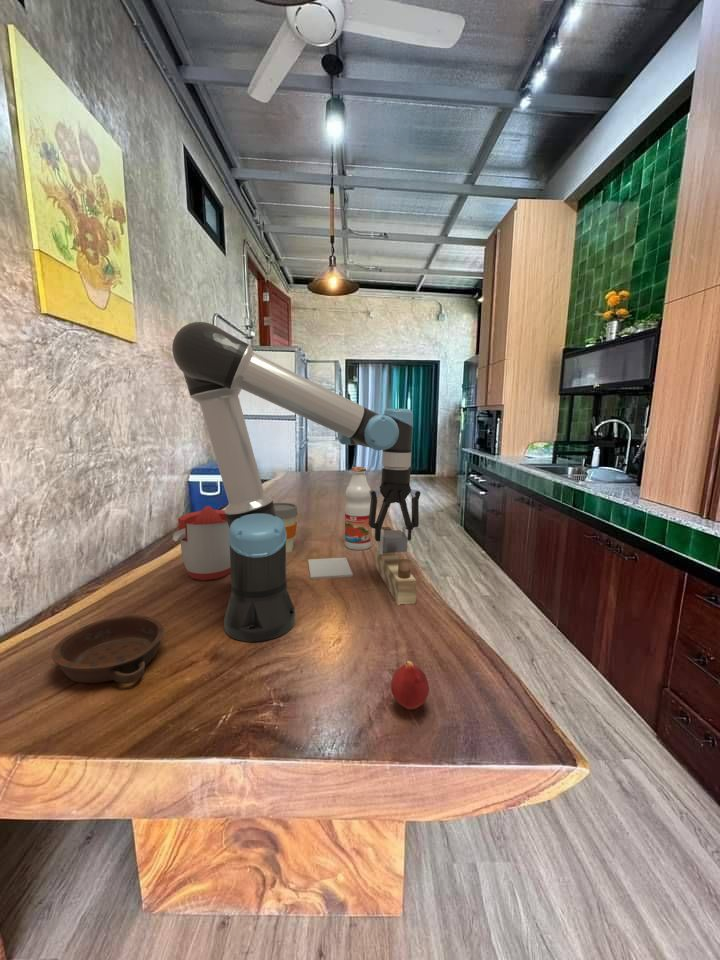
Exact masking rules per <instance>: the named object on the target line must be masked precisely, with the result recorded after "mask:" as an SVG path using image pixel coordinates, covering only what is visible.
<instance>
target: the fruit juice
mask: <svg viewBox="0 0 720 960" xmlns="http://www.w3.org/2000/svg"><path fill="white" fill-rule="evenodd" d="M366 472H367V468H366V467H363V466H354V467H353V466H352V468H351V473H352V476H351V478H350V481H349V484H348V485H347V486H346V489H345V492H344V493H345V499H346V502H345V507H344V545H345V548H347V549H350V550H352V551H364V550H367V549H370V548H371V546H372V533H373V532H372V531H373V530H372V529H373V528H371V527H370V526H369V524H368V523H369V513H370V504H371V496H370V490H372V488H371V486H370V485H369V482H368V480H367V479H368V478H367V476H366Z"/></svg>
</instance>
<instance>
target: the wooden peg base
mask: <svg viewBox="0 0 720 960" xmlns="http://www.w3.org/2000/svg"><path fill="white" fill-rule="evenodd" d="M381 528H382V529H383V530H393V529H392V528H391V527H390V526H382V527H381ZM374 555H375V561H374V562H375V564H374V565H375V569H376V570H377V571H378V572H377V573H379V575H380V577H381V578H382V580H383V582H384V584H385V586H386V585H387V586H386V588H387V589H388V591H389V593H390V592H391V593H390V594H391V596H392V598H393V600H394V601H395V603H396V604H397V606H401V605H400V604H405V605H415V603H417V600H416V599H417V583H418V582H417V581H418V580H417V579H416V578H415V576H414V575H413V574H412V573H411V560H410V559H407V558H400V557H399V556H398V555H397V552H393V553H385V552H384V551H383V554H380V553H379V552H378V546H375V554H374Z"/></svg>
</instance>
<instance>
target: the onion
mask: <svg viewBox="0 0 720 960" xmlns="http://www.w3.org/2000/svg"><path fill="white" fill-rule="evenodd" d="M390 688H391V694H392V696H393V698H394V699H395V701H396V702H397V703H398V704H399V705H400V706H402V707H403V708H405V709H406V710H409V711H410V710H414V709H415V710H416V709H417V708H419V707H421V706H422V705H424V703H426V701H427V698H428V697H429V693H430V685H429V681H428V678H427V676H426V674H425V673H424V671H423V670H422V669H421V668H419V667H418V666H417V665H415V664H413V662H412V661H411V660H406V661H405V664H404V665H401V666H400V667H399V668H398V669H397V670H396V671H395V672H394V674H393V677H392V678H391V682H390Z"/></svg>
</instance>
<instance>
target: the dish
mask: <svg viewBox="0 0 720 960" xmlns="http://www.w3.org/2000/svg"><path fill="white" fill-rule="evenodd" d="M165 629H166V628H165V627H164V624H163V622H161V621H160V620H158V619H157V618H154V617H151V616H148V615H147V616H146V615H140V614H131V615H130V614H129V615H122V616H121V615H120V616H116V617H111V618H105V619H101V620H98V621H95V622H92V623H90V624H87V625H85V626H82V627H80V628H79V629H76V630H74V631H73V632H71V633H69V634H68V635H66V636H65V637H63V638H62V639H60V641H59V642H58V643H57V644H56V645H55V646H54V648H53V649H52V652H51V659H52V660H53V663H55V664H56V665H58V666H59V668H60V669H61V671H62V672H63V673H64V675H66V677H67V678H69V679H70V680H71V681H73V682H77V683H81V684H83V683H84V684H85V683H86V684H87V683H88V684H96V683H97V684H98V683H104V682H105V683H106V682H109V681H110V682H111V681H114V682H116V683H118V684H122V685H123V684H124V685H126V684H127V685H128V684H132V683H135V682H137V681H138V680H140V678H142V677H143V675H144V673H145V667H146V666H147V665H148V664H149V663H150V662H151V661H152V660H153V659H154V657H155V656H156V655H157V654H158V653H157V652H158V650H159V648H160V644H161V640H162V638H163V636H164V635H165Z"/></svg>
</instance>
